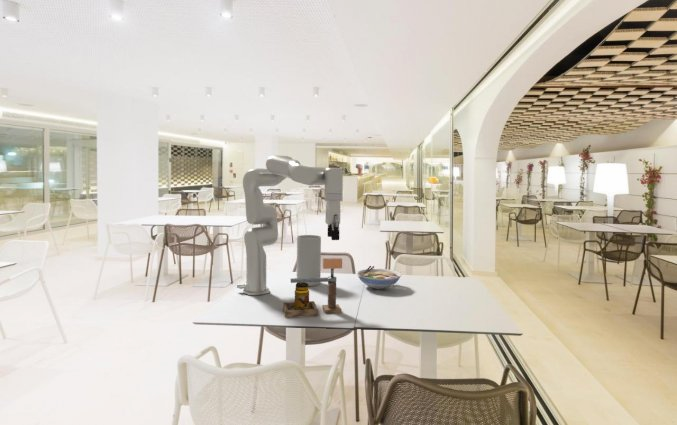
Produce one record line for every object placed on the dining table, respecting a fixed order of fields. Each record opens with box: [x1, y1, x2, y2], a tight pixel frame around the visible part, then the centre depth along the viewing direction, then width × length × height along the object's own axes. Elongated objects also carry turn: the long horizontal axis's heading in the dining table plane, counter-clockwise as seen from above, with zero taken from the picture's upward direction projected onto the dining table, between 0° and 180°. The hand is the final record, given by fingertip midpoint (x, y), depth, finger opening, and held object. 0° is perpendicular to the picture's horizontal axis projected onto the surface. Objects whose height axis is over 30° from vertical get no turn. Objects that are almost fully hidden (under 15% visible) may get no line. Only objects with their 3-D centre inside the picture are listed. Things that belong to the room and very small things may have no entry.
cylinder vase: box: [296, 234, 322, 287], centre depth 227 cm, size 12×12×25 cm
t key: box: [290, 257, 343, 284], centre depth 181 cm, size 22×4×10 cm, turn 101°
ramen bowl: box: [356, 265, 402, 290], centre depth 223 cm, size 25×23×8 cm
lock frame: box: [282, 281, 342, 318], centre depth 182 cm, size 24×12×12 cm, turn 101°
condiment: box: [290, 282, 310, 310], centre depth 181 cm, size 7×8×12 cm
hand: (333, 238), depth 181 cm, fingers open, 9 cm apart
